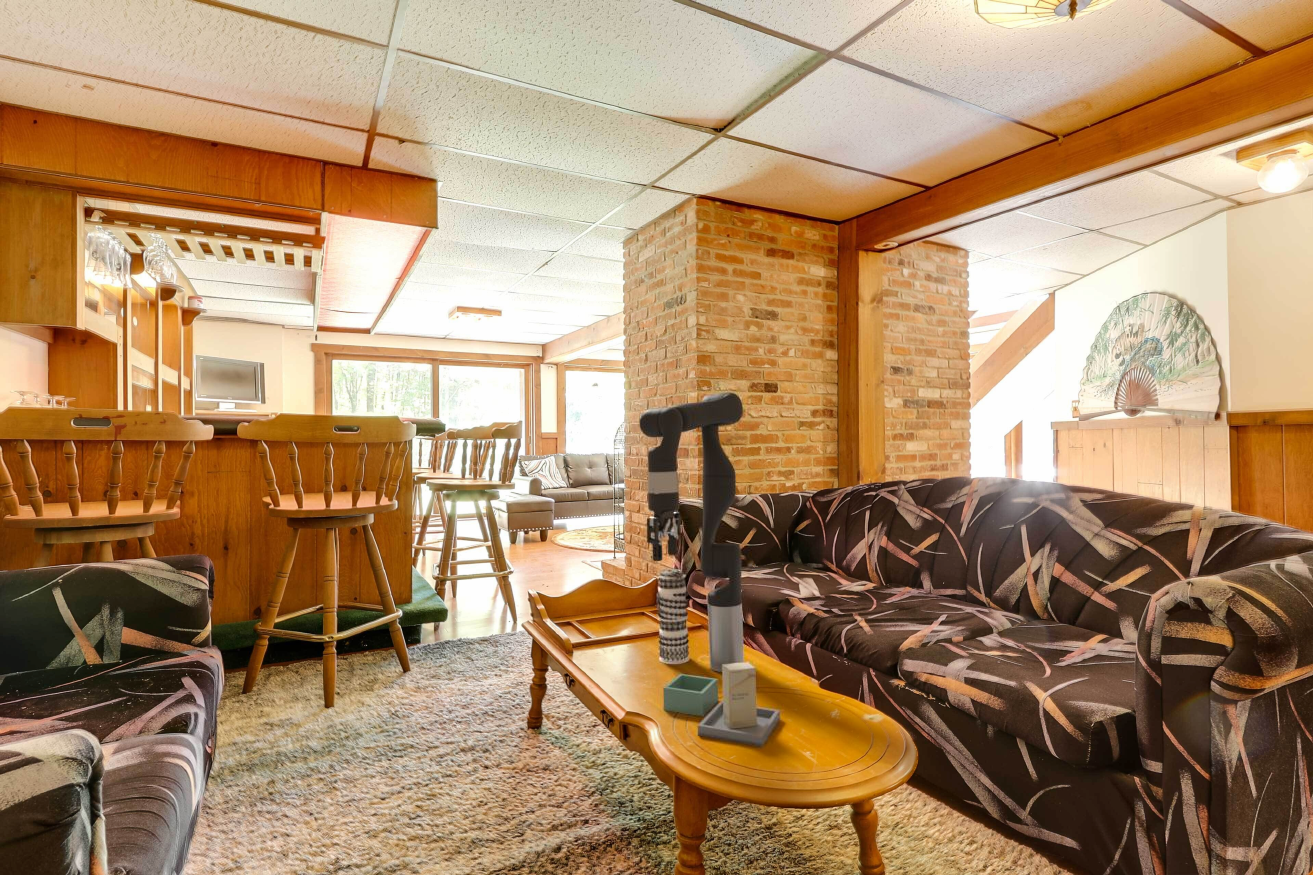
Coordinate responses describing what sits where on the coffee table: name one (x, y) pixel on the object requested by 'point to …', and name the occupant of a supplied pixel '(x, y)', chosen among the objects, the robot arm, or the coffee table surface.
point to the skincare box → (739, 695)
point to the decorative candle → (672, 617)
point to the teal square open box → (691, 694)
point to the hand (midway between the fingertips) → (665, 557)
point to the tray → (746, 735)
